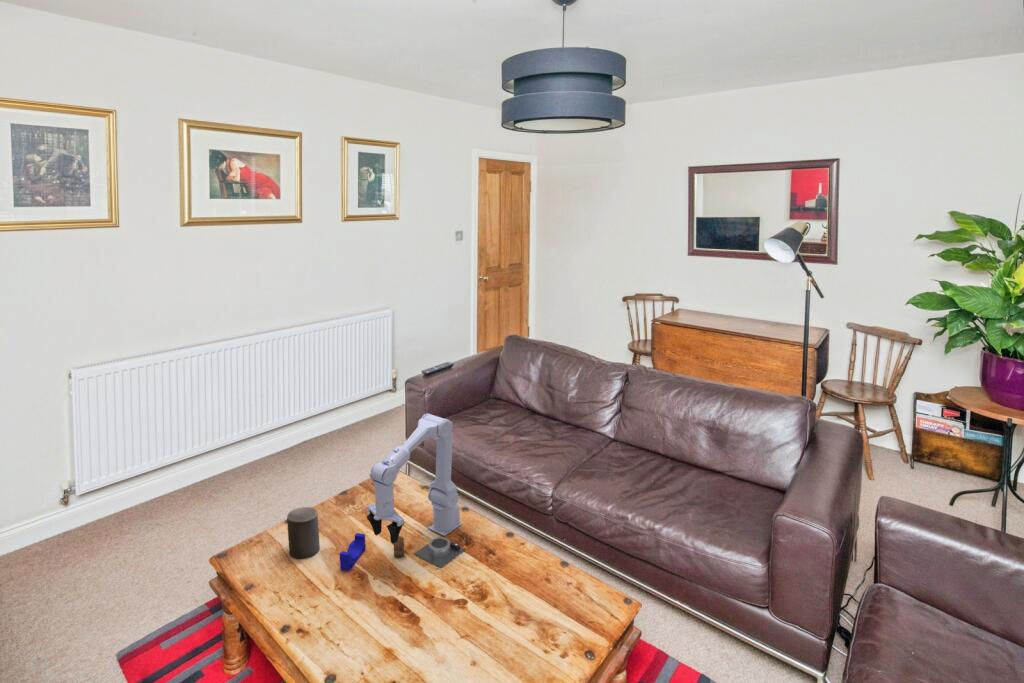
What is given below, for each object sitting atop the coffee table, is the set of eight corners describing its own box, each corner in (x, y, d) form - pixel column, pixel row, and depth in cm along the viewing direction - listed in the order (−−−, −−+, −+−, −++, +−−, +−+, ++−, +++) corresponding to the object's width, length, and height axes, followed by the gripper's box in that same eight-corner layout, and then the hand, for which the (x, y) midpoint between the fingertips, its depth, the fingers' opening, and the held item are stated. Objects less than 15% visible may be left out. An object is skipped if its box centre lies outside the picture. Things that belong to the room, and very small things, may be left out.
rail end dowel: (399, 550, 198) (398, 534, 197) (406, 554, 196) (406, 538, 195) (391, 555, 196) (390, 539, 194) (398, 559, 194) (398, 543, 192)
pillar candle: (291, 562, 191) (288, 521, 188) (287, 546, 200) (284, 506, 196) (322, 554, 196) (320, 514, 192) (317, 539, 204) (314, 500, 200)
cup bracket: (438, 538, 206) (438, 529, 205) (464, 550, 199) (464, 541, 198) (414, 554, 196) (413, 545, 195) (441, 568, 190) (440, 558, 189)
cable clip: (353, 548, 200) (352, 532, 198) (365, 549, 199) (364, 534, 197) (336, 569, 188) (335, 553, 187) (349, 571, 187) (348, 555, 186)
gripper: (359, 497, 186) (361, 535, 189) (391, 512, 178) (392, 552, 181) (376, 489, 191) (377, 526, 195) (408, 502, 183) (409, 541, 187)
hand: (386, 537), depth 188 cm, fingers open, 7 cm apart
